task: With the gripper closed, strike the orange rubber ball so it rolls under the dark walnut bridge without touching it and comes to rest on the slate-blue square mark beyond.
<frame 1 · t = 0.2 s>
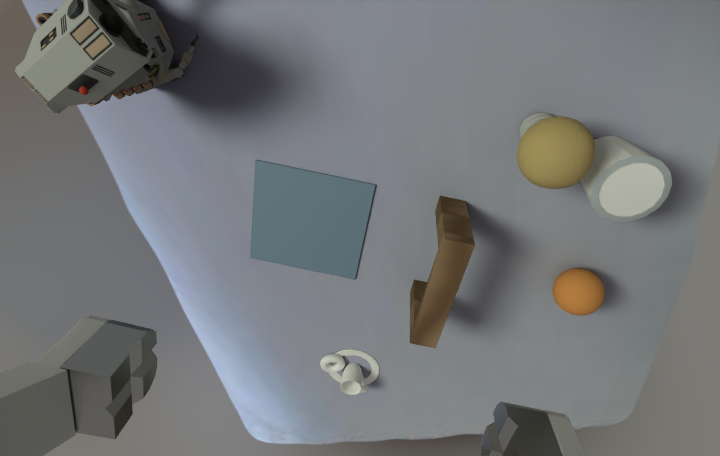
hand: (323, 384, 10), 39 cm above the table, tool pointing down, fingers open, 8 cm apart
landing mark: (308, 223, 54), on the table
mug and donut ornament: (353, 350, 66), on the table
light bulb: (536, 127, 46), on the table
bridge: (436, 249, 54), on the table
ball: (578, 291, 52), on the table
white cylinder: (602, 160, 47), on the table
figurine: (165, 30, 45), on the table
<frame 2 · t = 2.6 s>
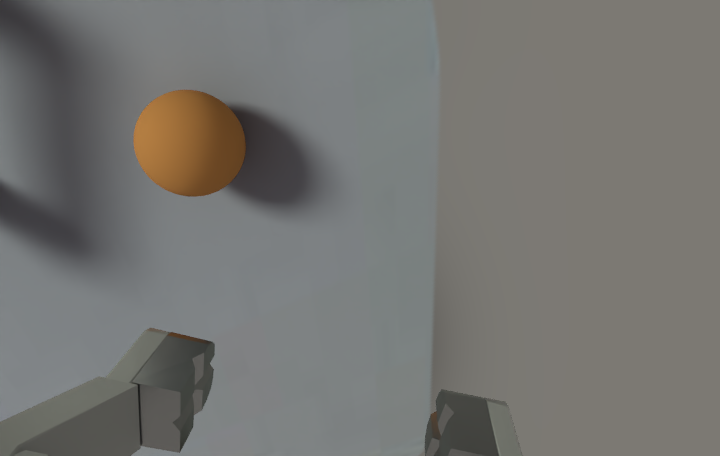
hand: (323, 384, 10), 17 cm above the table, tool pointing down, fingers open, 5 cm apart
ball: (192, 144, 23), on the table
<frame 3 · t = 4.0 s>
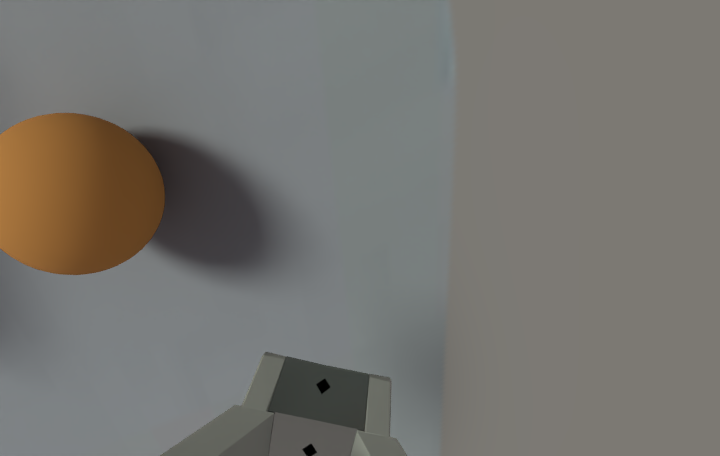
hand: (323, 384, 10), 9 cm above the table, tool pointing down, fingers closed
ball: (78, 195, 15), on the table
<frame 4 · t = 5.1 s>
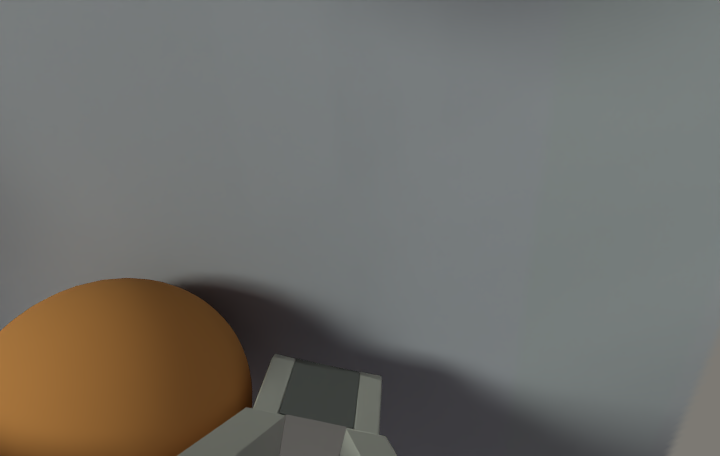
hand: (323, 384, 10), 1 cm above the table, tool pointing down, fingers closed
ball: (120, 407, 9), on the table, touching gripper
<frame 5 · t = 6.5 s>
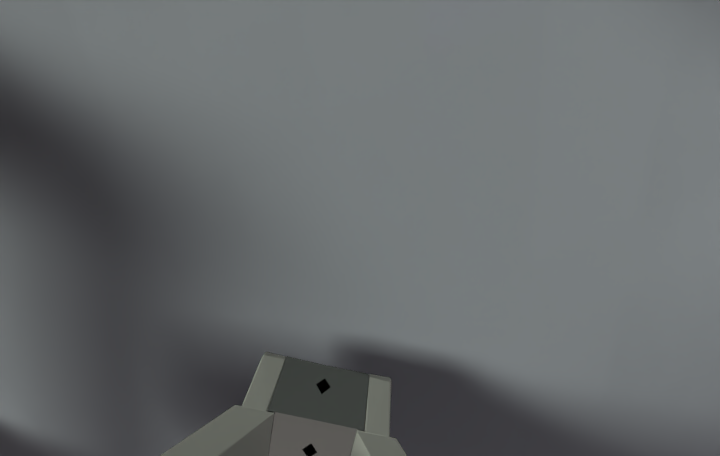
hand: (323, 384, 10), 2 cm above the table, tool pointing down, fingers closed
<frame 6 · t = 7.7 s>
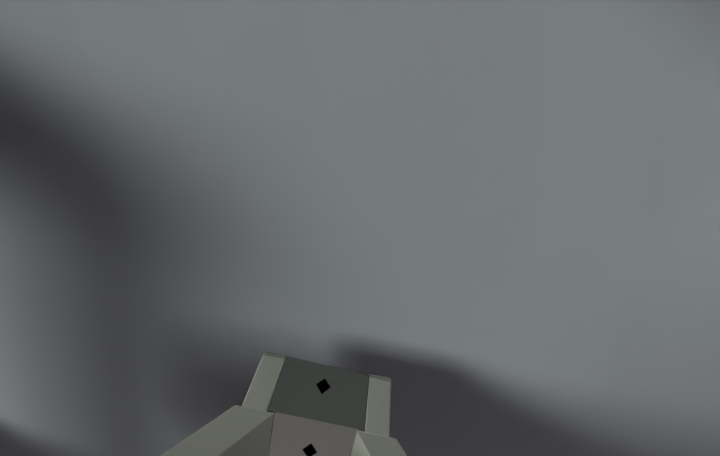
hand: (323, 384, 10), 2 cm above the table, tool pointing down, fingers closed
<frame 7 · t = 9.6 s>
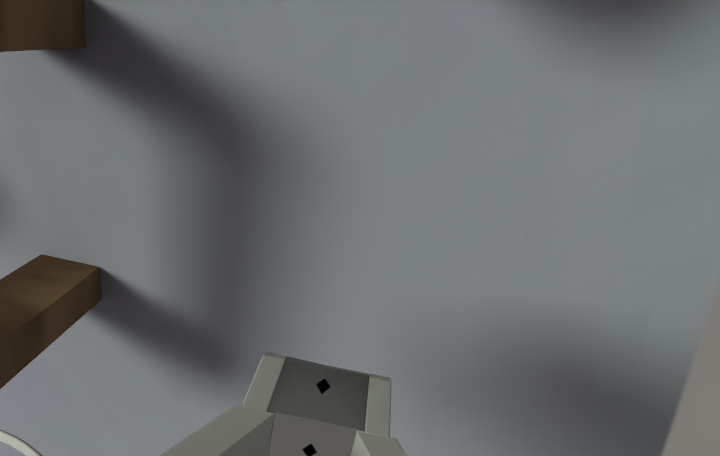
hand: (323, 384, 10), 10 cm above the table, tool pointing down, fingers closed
bridge: (60, 162, 20), on the table
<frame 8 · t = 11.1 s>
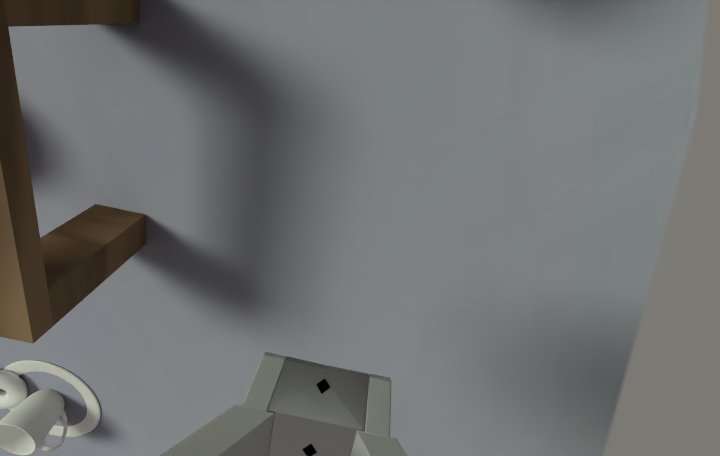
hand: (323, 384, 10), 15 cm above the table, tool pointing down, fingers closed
mug and donut ornament: (43, 362, 33), on the table
bridge: (115, 122, 24), on the table
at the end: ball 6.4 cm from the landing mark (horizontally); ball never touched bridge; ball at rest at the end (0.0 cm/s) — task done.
